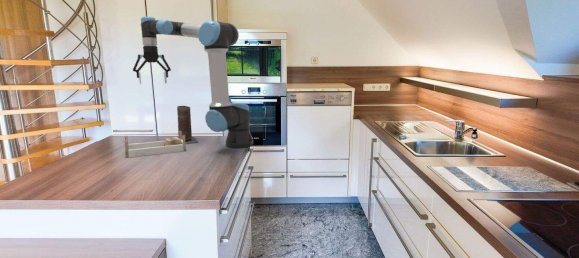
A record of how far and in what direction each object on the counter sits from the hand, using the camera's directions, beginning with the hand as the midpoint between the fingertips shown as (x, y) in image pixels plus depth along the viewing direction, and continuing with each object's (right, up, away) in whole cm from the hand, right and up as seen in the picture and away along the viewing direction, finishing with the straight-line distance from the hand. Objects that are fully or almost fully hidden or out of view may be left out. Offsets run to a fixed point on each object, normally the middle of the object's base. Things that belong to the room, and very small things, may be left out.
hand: (153, 83), depth 190 cm
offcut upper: (+17, -34, -15) cm, 41 cm away
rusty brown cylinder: (+18, -33, +2) cm, 38 cm away
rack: (+9, -38, -19) cm, 43 cm away
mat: (+17, -33, +1) cm, 38 cm away
